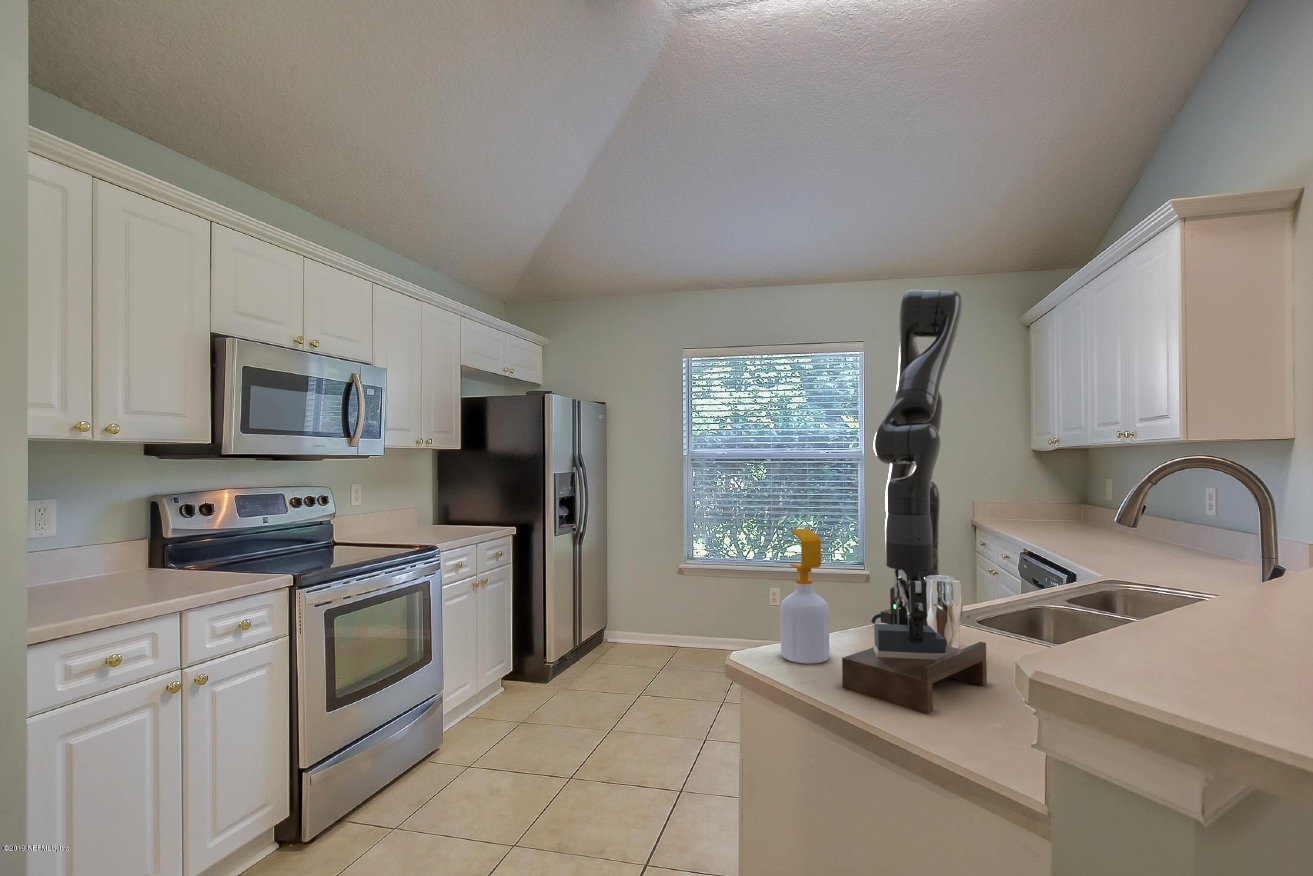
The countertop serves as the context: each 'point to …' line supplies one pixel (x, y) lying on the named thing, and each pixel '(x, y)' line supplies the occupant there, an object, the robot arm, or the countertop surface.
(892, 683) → the board
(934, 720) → the countertop surface
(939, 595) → the beer glass
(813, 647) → the soap bottle
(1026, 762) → the countertop surface
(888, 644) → the stepped grey pillar
